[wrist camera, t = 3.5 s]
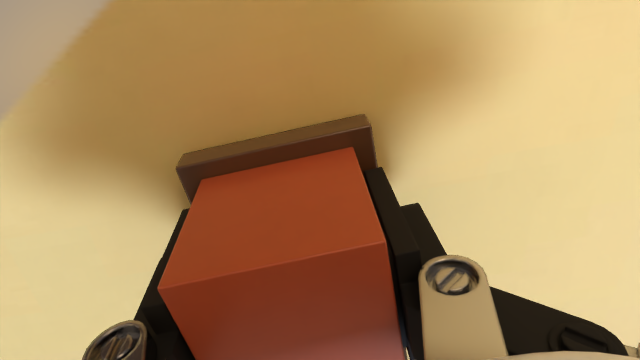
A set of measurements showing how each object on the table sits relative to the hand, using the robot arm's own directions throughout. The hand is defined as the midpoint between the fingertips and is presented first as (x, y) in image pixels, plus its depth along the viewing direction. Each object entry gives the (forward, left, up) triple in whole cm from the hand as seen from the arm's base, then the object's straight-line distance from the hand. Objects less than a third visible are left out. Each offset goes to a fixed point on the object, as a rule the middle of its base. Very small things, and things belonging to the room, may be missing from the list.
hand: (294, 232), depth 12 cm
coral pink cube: (0, 0, 0) cm, 0 cm away
